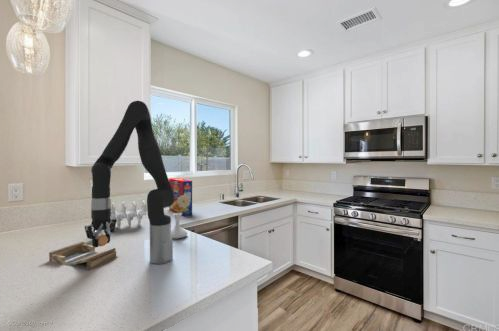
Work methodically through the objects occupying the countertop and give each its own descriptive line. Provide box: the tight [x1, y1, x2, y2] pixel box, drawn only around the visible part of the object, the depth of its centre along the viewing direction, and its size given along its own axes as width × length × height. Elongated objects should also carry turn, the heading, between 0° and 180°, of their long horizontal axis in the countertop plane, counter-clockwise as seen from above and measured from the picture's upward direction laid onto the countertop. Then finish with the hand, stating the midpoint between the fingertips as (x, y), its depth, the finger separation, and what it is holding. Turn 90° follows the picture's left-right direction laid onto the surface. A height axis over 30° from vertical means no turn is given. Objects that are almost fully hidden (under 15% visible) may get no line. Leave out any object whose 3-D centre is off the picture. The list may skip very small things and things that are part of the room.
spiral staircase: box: [109, 200, 148, 229], centre depth 163 cm, size 18×18×25 cm
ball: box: [97, 235, 108, 247], centre depth 110 cm, size 5×5×5 cm
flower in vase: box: [171, 195, 190, 239], centre depth 146 cm, size 13×11×25 cm
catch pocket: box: [48, 241, 96, 265], centre depth 116 cm, size 9×15×4 cm, turn 160°
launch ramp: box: [71, 247, 117, 270], centre depth 111 cm, size 14×12×6 cm
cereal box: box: [168, 177, 193, 217], centre depth 208 cm, size 28×8×28 cm, turn 40°
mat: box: [62, 250, 119, 272], centre depth 114 cm, size 25×15×1 cm, turn 69°
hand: (101, 244), depth 110 cm, fingers closed on ball, 5 cm apart
